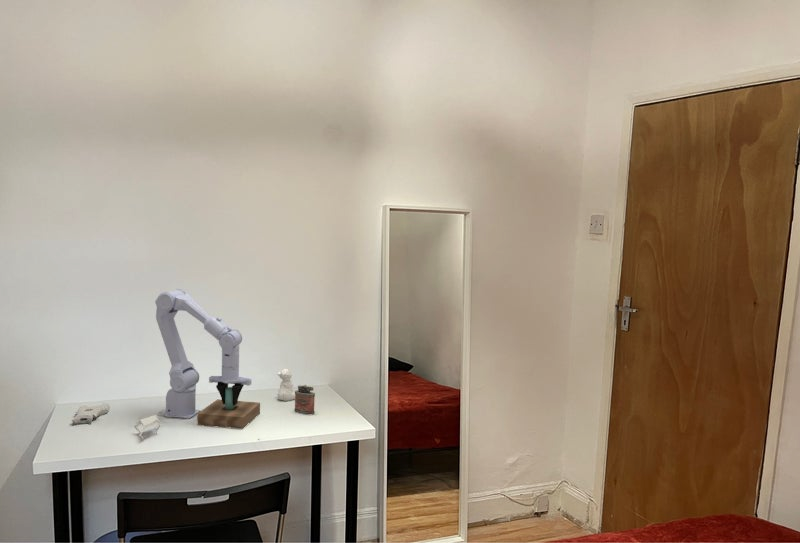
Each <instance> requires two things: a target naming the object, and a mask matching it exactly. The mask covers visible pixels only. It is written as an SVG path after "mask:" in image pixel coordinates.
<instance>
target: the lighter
mask: <svg viewBox="0 0 800 543" xmlns="http://www.w3.org/2000/svg"><path fill="white" fill-rule="evenodd" d="M313 391H314V387H313V386H310V385H309V386H308V385H306V384H304V385H300V384H299V385H297V390H295V391H294V392H295V399H294V409H293V411H295V412H294V413H297V412H298V413H297V414H301V413H303V415H307V414H313V415H315V412H316V411H315V398H316V393H315V392H313Z"/></svg>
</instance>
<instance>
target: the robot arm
mask: <svg viewBox="0 0 800 543" xmlns="http://www.w3.org/2000/svg"><path fill="white" fill-rule="evenodd" d="M154 303H155V306H156V310H155V311H156V312H155V319H156V320H155V321H156V322H157V325H158V329H159V331H160V335H161V337H162V341H163V343H164V346H165V350H166V352H167V356H168V358H169V361H170V364H171V367H170V369H169V372H168V375H169V377H170V379H169V385H170V387H171V388H170V389H168V390H167V391H166V394H165V395H166V396H165V414H164V417H168V418H169V417H170V418H181V419H192V418H193V417H194V416H197V413H199V412H200V411H201V410H200V409H196V394H197V393H196V391H197V390H196V389H197V384H198V383H199V381H200V373H199V372H198V370H197V369H196V368H195V365H194V363H193V362H191V361H189V360H188V358H187V354H186V351H185V349H184V346H183V343H182V342H183V341H182V339H181V335H180V333H179V331H178V327H177V324H176V321H175V317H176V315H177V313H178V312H179V311H183V312H187V313H188V314H189V315H191V316H192V317H193V318H195V319H196V320H198V321H199V322H201V323H202V324H203V329H204V330H205V331H206V332H207V333H209V334H210V335H211V336H212V337H214V338H215V339H216V340H217V341H218V344H219V347H220V348H221V375H210V376H209V377H208V383H210V384H213V383H217V384H216V385H215V386H216V390H217V391H218V393H219V395H220V400H222V403H223V404H225V388H227V387H229V384H232V386H231V387H232V392H233V405H236V404H237V401H239V397H240V395H241V394H240V393H241V392H242V389H243V388H244V386H245V385H246V386H247V387H249V386H251V385H252V378H247V377H242V376H240V345H241V343H242V341H243V336H242V333H241V331H239V330H238V329H235V328H234V329H233V328H232V326H228V325H227V324H226V323H225V322H223V321H222V318H221V317H220V316H218V317H217V316H215V315H213V316H211V315H210V314H209V313H207V311H205V310H204V309H203V308H202V307H201V306H200V305H199V304H198V303H197V302H196V301H195V300H193V298H192V296H191V295H190V294H188V293H187V292H186V291H185V290H183V289H181V288H180V289H179V288H177V289H175V290H170V291H164V292H161V293H159V295H158V296H157V298H156V299H155V302H154Z"/></svg>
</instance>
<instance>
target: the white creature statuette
mask: <svg viewBox="0 0 800 543" xmlns="http://www.w3.org/2000/svg"><path fill="white" fill-rule="evenodd" d="M276 375H277V376H279V378H280V379H281V380H282V381H281V382H280V384H279V388H278V392H277V394H276V396H277V399H278V400H280V401H281V400H283V401H282V402H288V400H290V401H294V400H295V391H293V387H294V384H293V382H292V380H291V379H292V376H293V375H292V373H291V371H290V370H289V369H288V368H284V369H282V370H280V371H277V374H276ZM293 399H294V400H293Z"/></svg>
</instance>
